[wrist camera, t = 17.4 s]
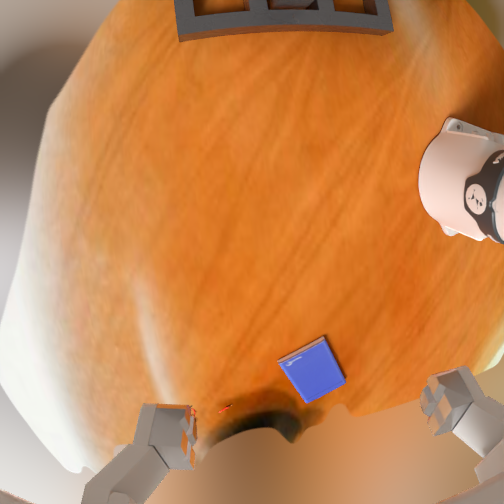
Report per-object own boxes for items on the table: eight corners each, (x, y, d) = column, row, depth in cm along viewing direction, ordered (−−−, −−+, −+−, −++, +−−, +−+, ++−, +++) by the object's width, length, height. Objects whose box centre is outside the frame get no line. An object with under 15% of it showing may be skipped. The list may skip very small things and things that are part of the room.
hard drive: (278, 364, 48) (306, 404, 53) (325, 339, 48) (346, 383, 53) (276, 358, 50) (303, 398, 54) (322, 334, 49) (343, 377, 54)
